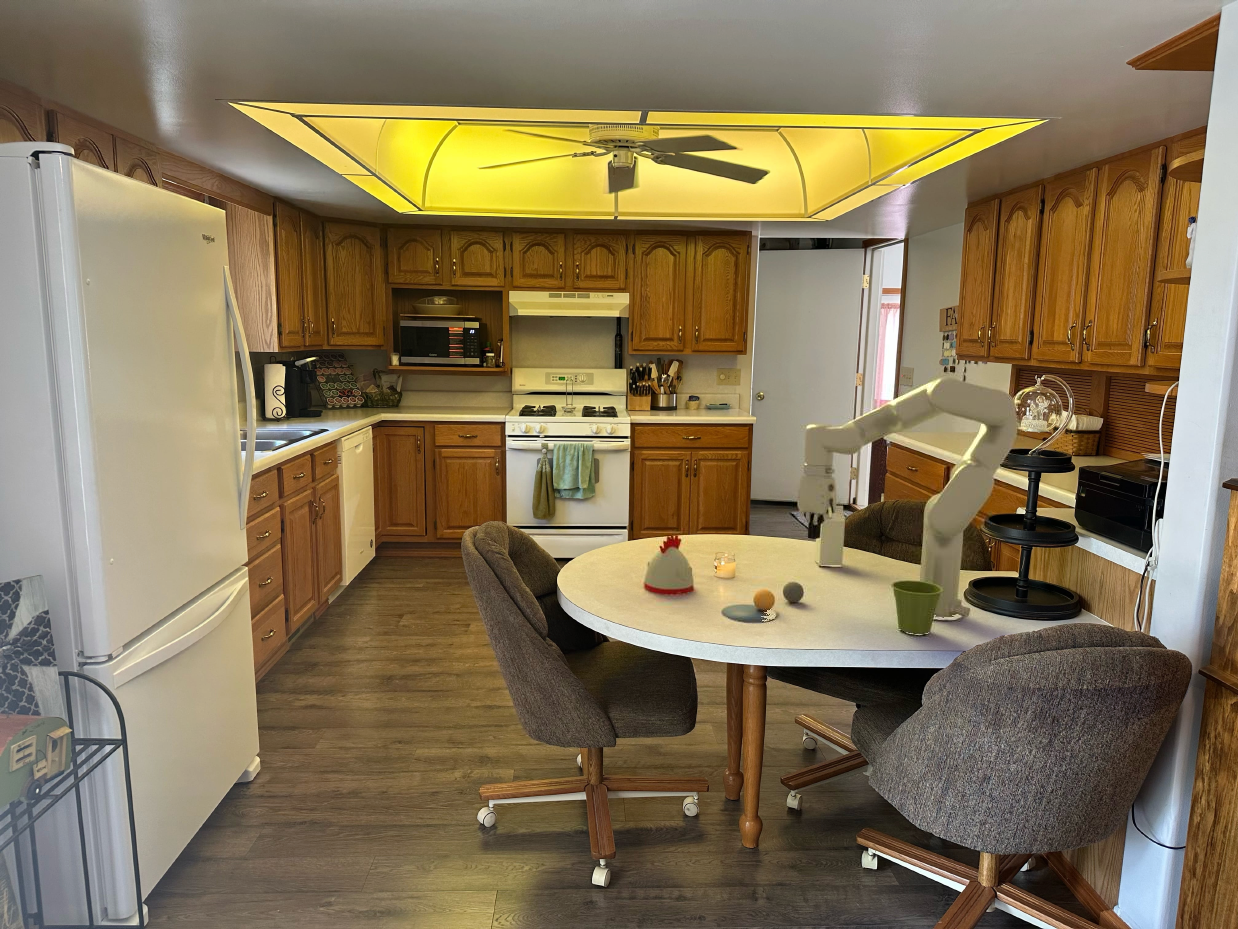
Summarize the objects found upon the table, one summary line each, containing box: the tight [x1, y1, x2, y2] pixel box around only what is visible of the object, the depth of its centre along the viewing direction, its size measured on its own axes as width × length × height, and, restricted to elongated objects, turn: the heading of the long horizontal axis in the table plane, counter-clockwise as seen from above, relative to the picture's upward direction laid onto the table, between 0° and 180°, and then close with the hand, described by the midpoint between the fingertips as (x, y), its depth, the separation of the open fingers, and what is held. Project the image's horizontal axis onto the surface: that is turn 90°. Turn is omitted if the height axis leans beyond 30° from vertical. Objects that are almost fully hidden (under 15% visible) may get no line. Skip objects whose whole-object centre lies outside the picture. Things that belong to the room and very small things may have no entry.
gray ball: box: [782, 581, 804, 603], centre depth 223 cm, size 6×6×6 cm
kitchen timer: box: [643, 534, 694, 596], centre depth 233 cm, size 14×14×15 cm
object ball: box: [752, 588, 776, 611], centre depth 216 cm, size 6×6×6 cm
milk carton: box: [814, 505, 846, 566], centre depth 262 cm, size 7×7×19 cm
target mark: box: [721, 603, 770, 623], centre depth 213 cm, size 14×14×1 cm
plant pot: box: [890, 580, 943, 635], centre depth 202 cm, size 12×12×11 cm
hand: (813, 538), depth 224 cm, fingers closed
